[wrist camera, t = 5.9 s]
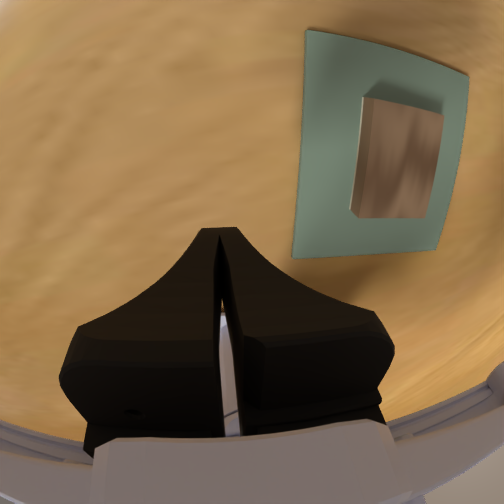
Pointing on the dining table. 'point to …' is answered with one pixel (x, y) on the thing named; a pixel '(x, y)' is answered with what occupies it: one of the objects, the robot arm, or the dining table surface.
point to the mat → (346, 143)
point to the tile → (395, 160)
